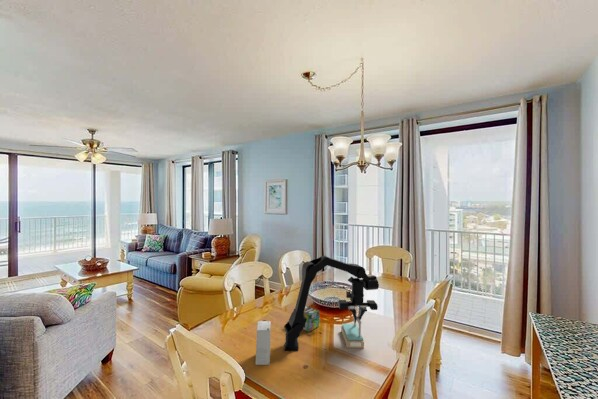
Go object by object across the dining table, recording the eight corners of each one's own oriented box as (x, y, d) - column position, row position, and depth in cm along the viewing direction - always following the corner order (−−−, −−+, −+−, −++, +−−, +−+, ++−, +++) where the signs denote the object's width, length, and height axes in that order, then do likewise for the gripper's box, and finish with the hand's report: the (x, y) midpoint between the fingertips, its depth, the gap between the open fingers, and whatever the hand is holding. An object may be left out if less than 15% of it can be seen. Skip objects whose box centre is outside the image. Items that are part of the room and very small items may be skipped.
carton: (364, 348, 124) (364, 341, 124) (347, 347, 124) (347, 341, 124) (356, 331, 140) (356, 325, 140) (341, 331, 140) (341, 325, 140)
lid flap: (363, 340, 124) (363, 323, 124) (348, 340, 124) (348, 323, 124) (356, 325, 139) (356, 310, 140) (342, 325, 139) (342, 310, 139)
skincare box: (256, 354, 117) (257, 320, 117) (270, 353, 118) (270, 320, 118) (255, 365, 109) (255, 329, 109) (270, 365, 110) (270, 329, 110)
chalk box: (292, 325, 146) (313, 335, 135) (293, 308, 146) (313, 317, 136) (303, 320, 152) (324, 329, 142) (304, 304, 152) (324, 312, 142)
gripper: (371, 285, 140) (371, 315, 140) (336, 285, 140) (336, 314, 140) (378, 292, 129) (377, 325, 129) (339, 292, 129) (339, 324, 129)
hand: (357, 322), depth 132 cm, fingers closed on lid flap
